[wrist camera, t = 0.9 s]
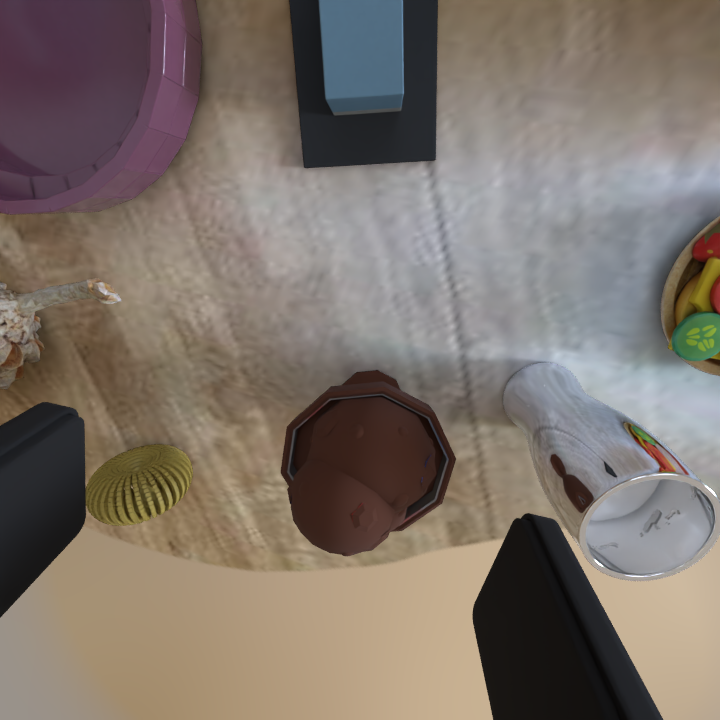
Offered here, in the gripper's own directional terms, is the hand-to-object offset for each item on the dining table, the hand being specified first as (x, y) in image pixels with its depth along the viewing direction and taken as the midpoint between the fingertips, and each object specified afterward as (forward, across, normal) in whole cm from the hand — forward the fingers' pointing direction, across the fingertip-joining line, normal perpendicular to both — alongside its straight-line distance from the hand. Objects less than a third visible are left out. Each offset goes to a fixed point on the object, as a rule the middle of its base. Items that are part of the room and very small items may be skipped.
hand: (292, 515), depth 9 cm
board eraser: (+24, +3, -15) cm, 29 cm away
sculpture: (+24, +14, +19) cm, 34 cm away
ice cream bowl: (+24, -3, +9) cm, 26 cm away
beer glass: (+25, -16, +5) cm, 30 cm away
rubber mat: (+24, +3, -15) cm, 29 cm away
